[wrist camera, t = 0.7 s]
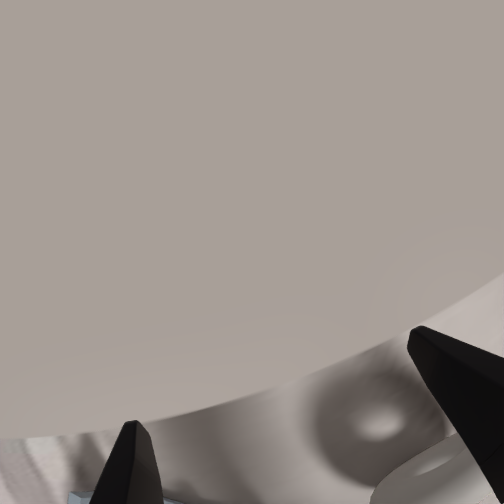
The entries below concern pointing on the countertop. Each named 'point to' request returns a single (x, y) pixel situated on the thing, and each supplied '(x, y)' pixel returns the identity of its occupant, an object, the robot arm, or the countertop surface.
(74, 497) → the peg stand
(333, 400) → the countertop surface
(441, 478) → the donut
